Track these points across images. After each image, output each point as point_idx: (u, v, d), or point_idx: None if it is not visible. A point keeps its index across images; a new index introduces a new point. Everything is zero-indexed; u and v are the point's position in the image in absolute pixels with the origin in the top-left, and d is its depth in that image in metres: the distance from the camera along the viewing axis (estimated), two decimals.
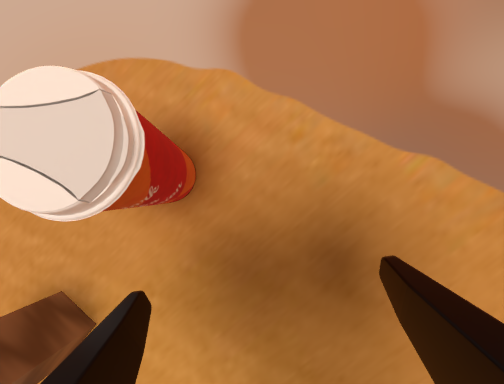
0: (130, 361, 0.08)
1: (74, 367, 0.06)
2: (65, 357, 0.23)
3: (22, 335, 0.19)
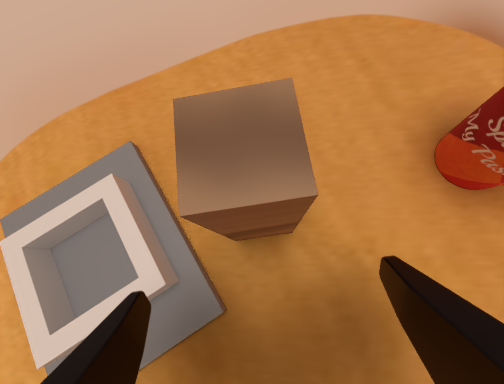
0: (130, 361, 0.08)
1: (74, 367, 0.06)
2: (250, 237, 0.20)
3: None
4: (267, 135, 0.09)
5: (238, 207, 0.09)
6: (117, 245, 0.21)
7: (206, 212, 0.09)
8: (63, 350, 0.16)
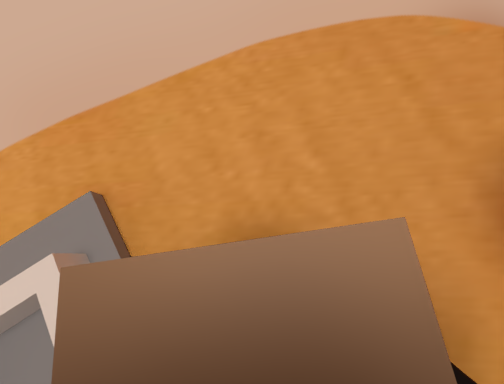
0: None
1: None
2: None
3: None
4: None
5: None
6: None
7: None
8: None
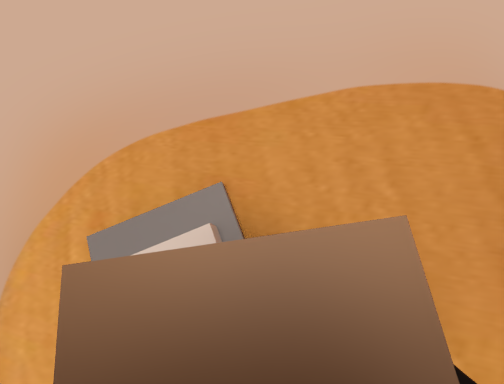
0: None
1: None
2: None
3: None
4: None
5: None
6: None
7: None
8: None
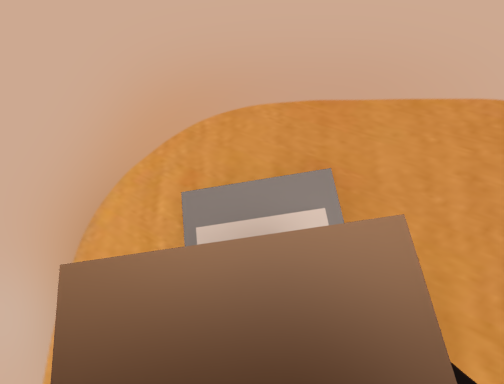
0: None
1: None
2: None
3: None
4: None
5: None
6: None
7: None
8: None
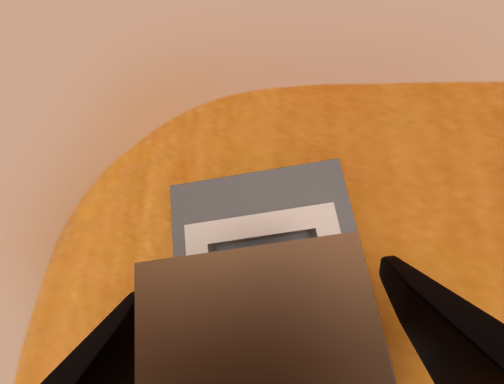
0: (130, 361, 0.08)
1: (74, 367, 0.06)
2: None
3: None
4: (315, 366, 0.05)
5: None
6: None
7: None
8: None
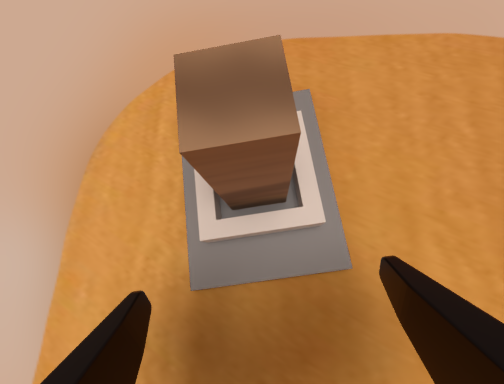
0: (130, 361, 0.08)
1: (73, 367, 0.06)
2: (246, 205, 0.21)
3: None
4: (257, 84, 0.10)
5: (231, 144, 0.10)
6: None
7: (203, 149, 0.10)
8: (224, 236, 0.19)
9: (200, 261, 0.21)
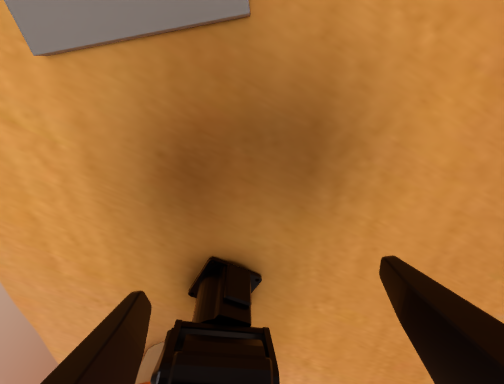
0: (130, 361, 0.08)
1: (73, 367, 0.06)
2: None
3: None
4: None
5: None
6: None
7: None
8: None
9: (26, 6, 0.14)
